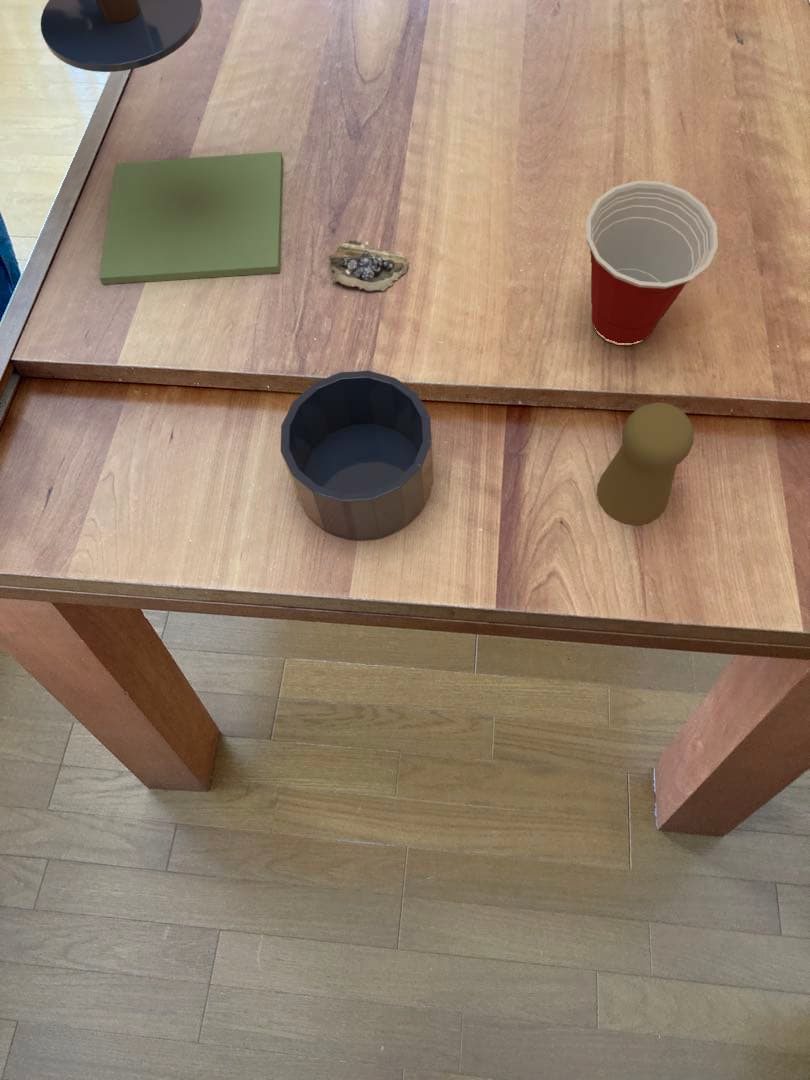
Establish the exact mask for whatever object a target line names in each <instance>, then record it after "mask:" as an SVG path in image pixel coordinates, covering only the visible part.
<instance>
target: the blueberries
mask: <svg viewBox="0 0 810 1080" xmlns="http://www.w3.org/2000/svg"><path fill="white" fill-rule="evenodd" d="M369 243H370V242H369V241H368V240H365V242H364V243H362V241H357V240H350V239H349V240H348V241H346V242H343V243H342V244H341V245H339V246H338V247H337V249H336V250H335V251H334V253H331V254H329V255H328V260H329V261H330V263H328V266H329V268H330V269H332V270H333V273H332V274H331V275H330V276H331V277H330V280H333V281H332V282H333V283H337V282H339V283H340V284H341V285H344V286H346V287H353V288H354V287H357V288H359V290H362V289H364V290H365V291H367V292H373V291H381V292H385V291H386V290H387V289H388V288H389V287H392V286H393V284H394V281H398V280H399V278H401V277H402V275H405V274H406V273H407V272H408V269H409V262H408V261H407V258H406V256H404V255H403V254H402V253H401V252H399V251H395V250H393V251H391V250H388V249H385V250H378V249H377V248H378V247H379V245H375V246H373V245H370V244H369Z"/></svg>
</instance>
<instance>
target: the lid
mask: <svg viewBox="0 0 810 1080" xmlns="http://www.w3.org/2000/svg"><path fill="white" fill-rule="evenodd" d="M203 10H204V9H203V0H48V1H47V2H46V4H45V6H44V8H43V11H42V14H41V17H40V32H41V35H42V38H43V40H44V42H45V44H46V46H47V48H48V50H49V51H50V52H51V53H52V54H53V55H54V56H55V57H56V58H57V59H58V60H60V61H62V62H63V63H65V64H67V65H69V66H70V67H73V68H77V69H79V70H83V71H90V72H96V73H115V72H123V71H125V72H126V71H129V70H134V69H139V68H143V67H145V66H149V65H151V64H154V63H156V62H159V61H161V60H162V59H165V58H166V57H168V56H170V55H171V54H173V53H175V52H176V51H177V50H179V49H180V48H181V47H183V46H184V45H185V44H186V43H187V42H188V41H189V40H190V39H191V38H192V36H193V35H194V34H195V32H196V31H197V29H198V27H199V25H200V23H201V20H202V16H203V12H204V11H203Z"/></svg>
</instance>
